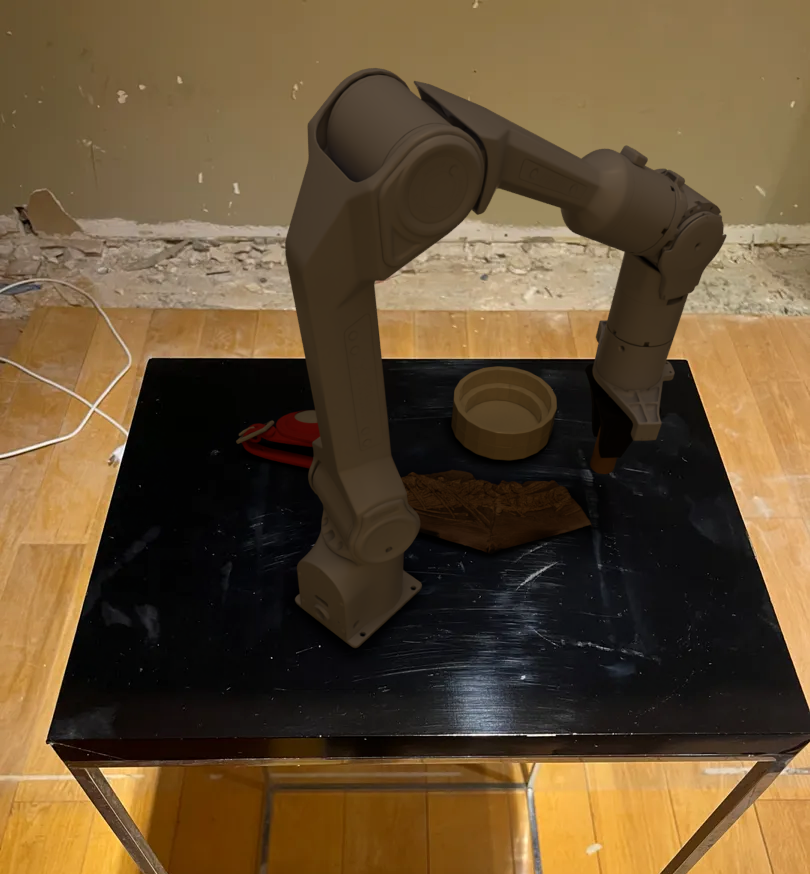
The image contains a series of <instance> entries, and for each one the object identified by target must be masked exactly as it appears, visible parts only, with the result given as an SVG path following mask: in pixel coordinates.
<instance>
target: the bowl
mask: <svg viewBox="0 0 810 874" xmlns="http://www.w3.org/2000/svg"><path fill="white" fill-rule="evenodd" d="M557 409H558V403H557V396H556V394H555V391H554V390H553V389H552V387H551V386H550V385H549V384H548V383H547V382H546V381H545V380H544V379H543V378H542V377H540V376H537V375H535V374H534V373H532V372H530V371H528V370H524V369H520V368H518V367H514V366H513V367H512V366H500V365H499V366H497V365H496V366H489V367H488V366H487V367H483V368H480V369H476V370H475V371H471V372H470V373H468V374H467V375H466V376H464V377H463V378H461V379H460V380H459V382H458V383H457V385H456V386H455V388H454V391H453V401H452V411H451V412H452V413H451V425H450V426H451V430H452V432H453V434H454V437H455V438H456V440H458V442H460V444H461V445H462V446H463V447H464V448H466V449H467V450H469V451H470V452H472V453H474V454H476V455H478V456H481V457H484V458H488V459H491V460H498V461H499V460H500V461H517V460H521V459H522V460H523V459H526V458H528V457H530V456H533V455H536V454H537V453H539V452H540V451H541V450H543V449H544V447H545V446H547V444H548V442H549V440H550V438H551V435H552V433H553V428H554V423H555V419H556V415H557Z"/></svg>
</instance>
